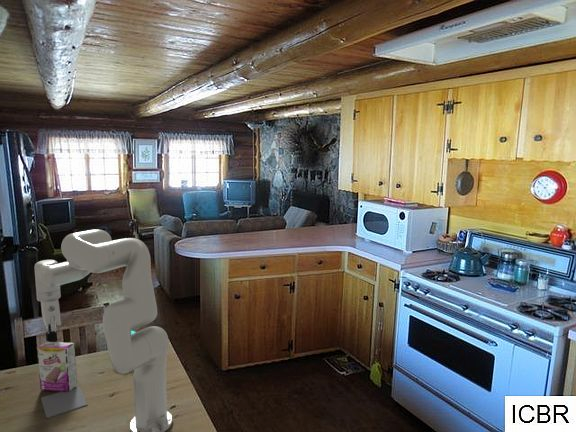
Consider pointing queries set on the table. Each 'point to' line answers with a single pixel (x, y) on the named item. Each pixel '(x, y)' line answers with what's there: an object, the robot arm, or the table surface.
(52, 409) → the rubber mat
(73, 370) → the candy bar box
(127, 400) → the table surface
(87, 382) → the table surface
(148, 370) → the robot arm
